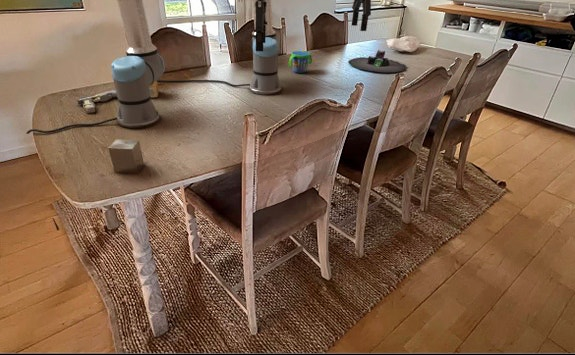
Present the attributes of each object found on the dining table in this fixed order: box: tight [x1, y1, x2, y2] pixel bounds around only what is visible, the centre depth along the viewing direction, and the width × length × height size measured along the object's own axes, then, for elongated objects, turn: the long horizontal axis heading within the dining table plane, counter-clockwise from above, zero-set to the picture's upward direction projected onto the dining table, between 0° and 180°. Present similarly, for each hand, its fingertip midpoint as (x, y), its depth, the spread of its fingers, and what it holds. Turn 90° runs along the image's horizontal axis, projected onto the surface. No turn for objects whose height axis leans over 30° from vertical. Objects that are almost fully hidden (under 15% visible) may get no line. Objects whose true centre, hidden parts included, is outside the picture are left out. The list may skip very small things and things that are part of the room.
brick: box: [108, 138, 145, 174], centre depth 111 cm, size 6×7×8 cm
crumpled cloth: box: [385, 35, 422, 53], centre depth 256 cm, size 24×35×9 cm
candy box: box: [149, 81, 160, 99], centre depth 163 cm, size 9×4×15 cm, turn 13°
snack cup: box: [288, 50, 313, 74], centre depth 203 cm, size 16×10×10 cm
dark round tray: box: [347, 49, 407, 74], centre depth 221 cm, size 35×35×9 cm
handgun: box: [76, 89, 118, 114], centre depth 155 cm, size 3×18×15 cm
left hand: (260, 46), depth 137 cm, fingers open, 13 cm apart
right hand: (358, 28), depth 178 cm, fingers open, 13 cm apart
